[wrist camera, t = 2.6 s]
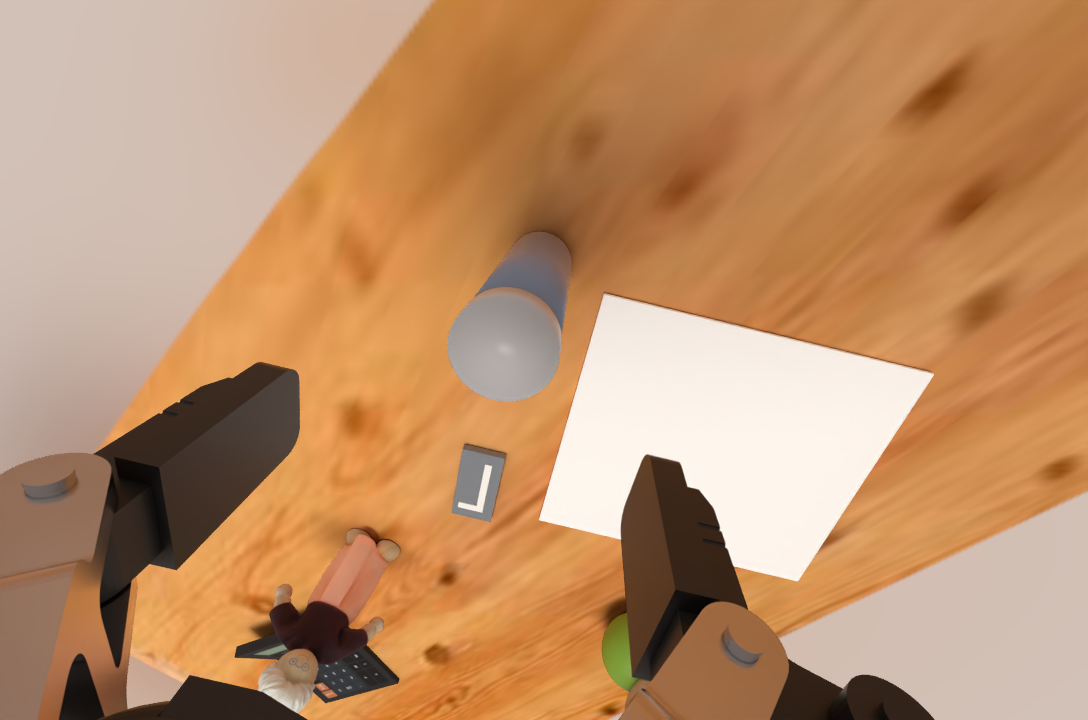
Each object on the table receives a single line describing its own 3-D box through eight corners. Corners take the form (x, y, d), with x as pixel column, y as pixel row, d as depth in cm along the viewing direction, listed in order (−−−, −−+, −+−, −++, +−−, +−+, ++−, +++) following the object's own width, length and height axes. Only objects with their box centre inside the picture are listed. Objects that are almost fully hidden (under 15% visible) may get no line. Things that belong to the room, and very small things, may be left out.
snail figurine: (684, 601, 38) (721, 786, 27) (649, 648, 41) (671, 832, 30) (621, 580, 37) (633, 759, 27) (591, 628, 40) (591, 808, 29)
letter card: (464, 444, 33) (462, 449, 33) (506, 453, 33) (504, 459, 33) (453, 507, 36) (451, 513, 35) (492, 516, 36) (490, 522, 35)
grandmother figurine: (414, 538, 38) (337, 711, 26) (409, 571, 39) (334, 748, 28) (320, 514, 37) (201, 678, 26) (319, 548, 39) (206, 716, 28)
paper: (603, 292, 28) (604, 294, 27) (930, 372, 28) (934, 374, 28) (539, 517, 35) (539, 520, 35) (796, 578, 36) (797, 581, 35)
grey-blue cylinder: (516, 220, 26) (455, 285, 15) (580, 236, 27) (571, 313, 15) (504, 283, 28) (441, 387, 16) (565, 297, 28) (545, 412, 16)
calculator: (329, 694, 49) (314, 726, 46) (252, 623, 45) (231, 654, 42) (401, 674, 46) (389, 707, 43) (326, 597, 42) (307, 628, 40)
